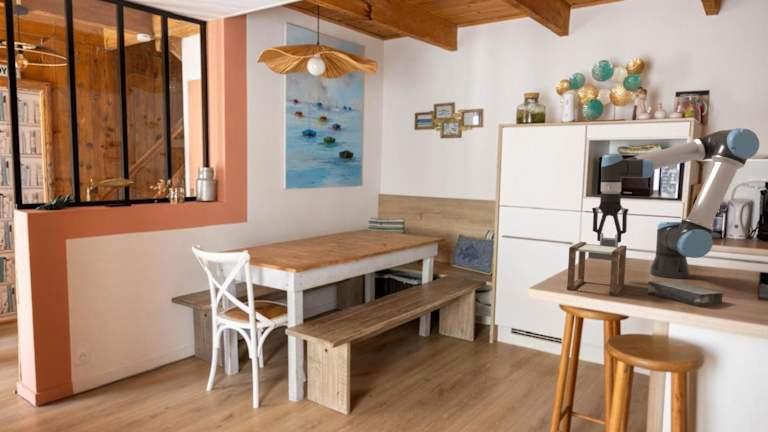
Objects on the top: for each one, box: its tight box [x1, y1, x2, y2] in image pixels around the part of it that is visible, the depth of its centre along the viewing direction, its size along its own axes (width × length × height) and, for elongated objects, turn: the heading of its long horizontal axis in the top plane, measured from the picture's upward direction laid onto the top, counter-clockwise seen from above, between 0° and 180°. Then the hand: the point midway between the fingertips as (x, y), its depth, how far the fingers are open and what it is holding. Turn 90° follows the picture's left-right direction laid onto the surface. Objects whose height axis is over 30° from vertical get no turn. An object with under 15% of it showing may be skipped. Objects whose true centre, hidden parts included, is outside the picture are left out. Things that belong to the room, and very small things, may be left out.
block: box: [647, 280, 724, 308], centre depth 187 cm, size 14×20×5 cm
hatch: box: [576, 243, 619, 261], centre depth 202 cm, size 12×21×6 cm, turn 147°
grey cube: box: [601, 237, 615, 247], centre depth 215 cm, size 5×5×5 cm
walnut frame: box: [566, 241, 627, 297], centre depth 200 cm, size 17×19×16 cm
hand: (608, 249), depth 215 cm, fingers closed on grey cube, 5 cm apart
